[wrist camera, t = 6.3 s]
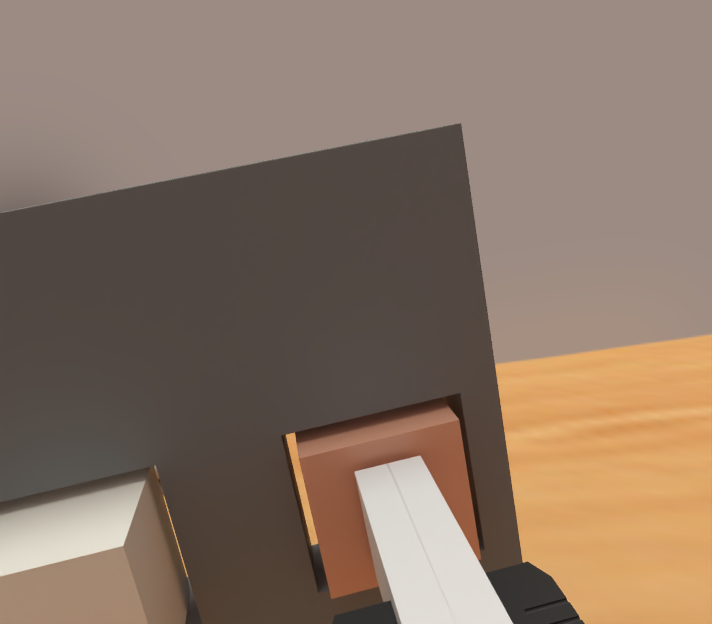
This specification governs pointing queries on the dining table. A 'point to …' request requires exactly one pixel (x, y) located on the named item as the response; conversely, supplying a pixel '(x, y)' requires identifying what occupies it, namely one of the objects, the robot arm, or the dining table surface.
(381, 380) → the button panel
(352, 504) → the terracotta button
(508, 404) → the dining table surface
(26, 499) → the ivory button
